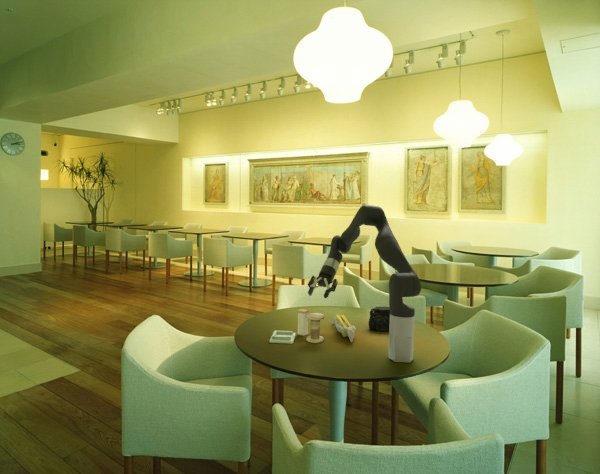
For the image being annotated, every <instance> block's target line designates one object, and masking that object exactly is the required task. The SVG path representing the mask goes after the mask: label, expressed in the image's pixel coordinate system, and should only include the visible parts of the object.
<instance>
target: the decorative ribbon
mask: <svg viewBox="0 0 600 474" xmlns="http://www.w3.org/2000/svg"><path fill="white" fill-rule="evenodd" d="M331 323H332V324H333V325H335V328H336V331H338V333H339V334H340V335H341V336H342V337H343V338H346V337H347V338H349V342H350V343H353V339H354V338H355V333H356V331H357V328H356V327H355V325H353V324H351V323H350V322H349V321H348V319H347V318H346V316H345V315H344V314H335V316H334V317H333V319H332V321H331Z"/></svg>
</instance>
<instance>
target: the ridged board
mask: <svg viewBox="0 0 600 474" xmlns="http://www.w3.org/2000/svg"><path fill="white" fill-rule="evenodd" d="M296 335H297V333H296V332H294V331H293V330H292V331H291V330H274V331H273V332H272V335H271V336H270V339H269V343H271V344H291V345H292V344H294V342H295V339H296V337H297V336H296Z"/></svg>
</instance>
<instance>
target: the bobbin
mask: <svg viewBox="0 0 600 474" xmlns="http://www.w3.org/2000/svg"><path fill="white" fill-rule="evenodd" d="M307 318H308V320H310V335H308V336H306V339H305V341H306V342H308V343H311V344H320V343H321V344H322V343H323V342H324V341H325V338H324V336H321V335H320V334H321V321H322V320H324V319H325V314H323V313H319V312H310V313H308V314H307Z"/></svg>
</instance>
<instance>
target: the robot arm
mask: <svg viewBox="0 0 600 474" xmlns="http://www.w3.org/2000/svg"><path fill="white" fill-rule="evenodd" d="M388 221H389V220H387V216H386V213H385V211H384V209H383V208H382V207H381V206H379V205H378V206H377V205H370V204H362V205H361V206H360V207H359V208H358V210H357V212H355V215H354V217H353V218H352V220H351V222H350V224H349V226H348V227H347V228H346V229H345V230H344V231H343V232H342V233H341V235H339V234H337V235H334V236H333V237H332V239H331V240H330V241H331V242H330V247H329V248H330V249H329V253H328V254H327V257H326V260H324V263H323V265H322V267H321V268H320V270H319V273H318V276H317V277H316V276H315V275H312V276H311V277H310V279H309V281H308V283H307V286H308V291H307V294H308V296H309V297H310V296H312V295H313V293H314V291H315V289H316V288H319V287H323V288H326V290H325V291H324V294H323V297H324V299H327V298H329V296H330V294H331V292H333V293H334V292H336V289H337V287H338V284H339V281H338V279H337V278H335V277H336V274H337V272H338V270H339V267H340V264H341V262H342V260H343V254H347V253H349V252H350V250H351V248H352V245H353V243H354V242H355V241H357V239H358V238H359V237H360V234H361V228H360V226H362V225H363V226H370V227H374V228H376V230H377V235H376V237H375V239H374V246H375V249H376V252H377V254H378V255H379V257H380V259H381V260H382V261H383V262H384V263H385V264H387V265H388V266H389V267H391V268H393V269H394V270H395V271H396V272H394V273H391V275H390V277H389V279H388V299H389V300H388V303H389V304H388V307H390V325H389V330H388V352H387V353H388V359H390V360H392V361H393V362H394V363H410V364H411V362H412V361H413V360H414V359H413V358H414V335H415V319H416V318H415V317H416V315H415V314H416V313H415V311H416V310H415V308H414V307H413V306H412V305H408V304H406V303H404V299H403V298H414V297H417V296H419V295H420V293H421V291H422V285H421V281H420V278H419V275H418V274H417V272H416V271H415V269H414V268H413V267H412V265H411V263H409V261H408V259H407V258H406V255H405V254H404V253H403V250H402V248H401V246H400V244H399V242H398V239H397V238H396V236H395V235H394V233H393V231H392V229H391V227H390V224H389V222H388Z"/></svg>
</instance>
